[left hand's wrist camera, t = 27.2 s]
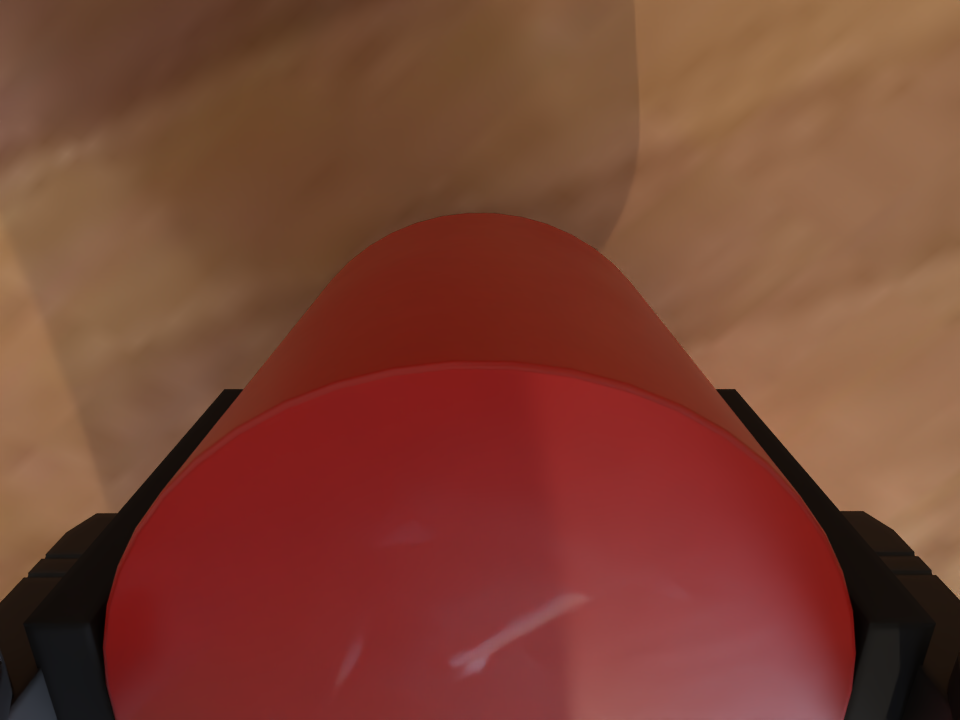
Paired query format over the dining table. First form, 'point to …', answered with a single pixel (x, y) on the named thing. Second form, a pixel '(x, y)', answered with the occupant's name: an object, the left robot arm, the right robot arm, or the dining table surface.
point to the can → (479, 516)
